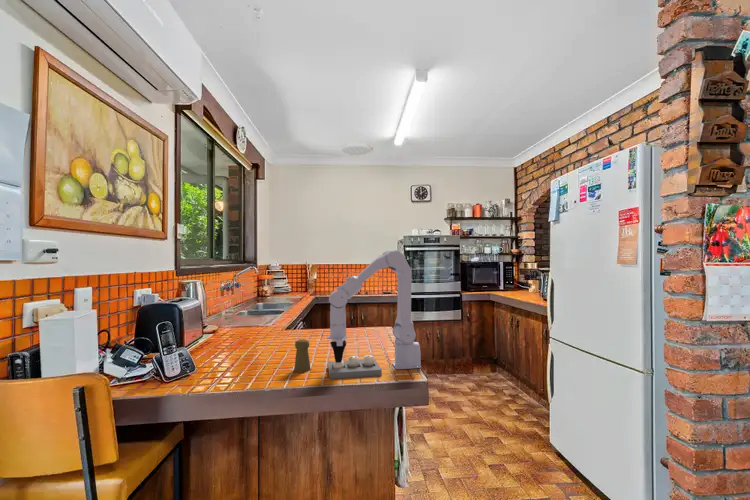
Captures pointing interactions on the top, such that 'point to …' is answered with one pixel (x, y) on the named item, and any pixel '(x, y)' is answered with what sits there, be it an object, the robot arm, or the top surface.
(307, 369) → the cork
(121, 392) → the top surface
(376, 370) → the button panel
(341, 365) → the button
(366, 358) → the button
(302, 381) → the top surface
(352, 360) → the button
